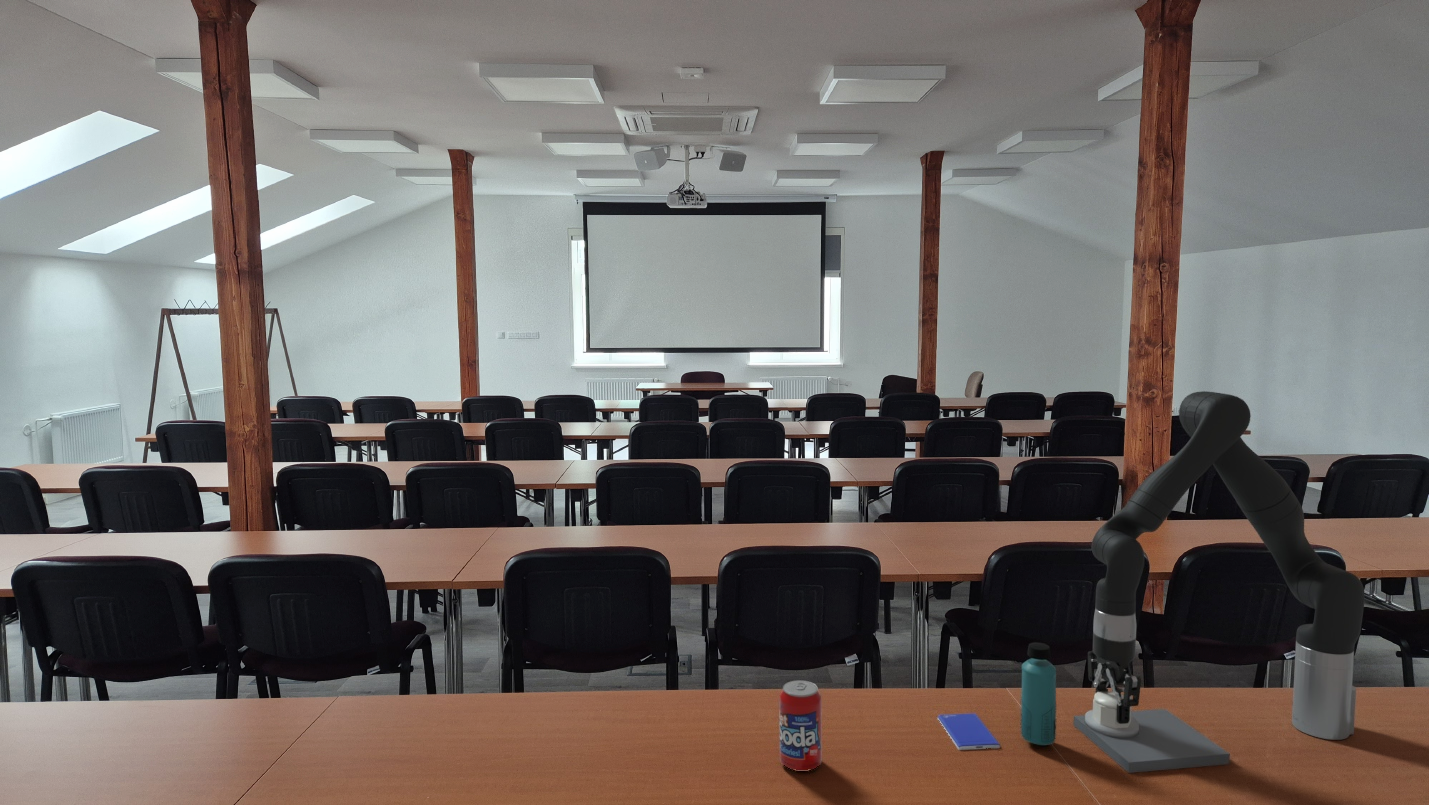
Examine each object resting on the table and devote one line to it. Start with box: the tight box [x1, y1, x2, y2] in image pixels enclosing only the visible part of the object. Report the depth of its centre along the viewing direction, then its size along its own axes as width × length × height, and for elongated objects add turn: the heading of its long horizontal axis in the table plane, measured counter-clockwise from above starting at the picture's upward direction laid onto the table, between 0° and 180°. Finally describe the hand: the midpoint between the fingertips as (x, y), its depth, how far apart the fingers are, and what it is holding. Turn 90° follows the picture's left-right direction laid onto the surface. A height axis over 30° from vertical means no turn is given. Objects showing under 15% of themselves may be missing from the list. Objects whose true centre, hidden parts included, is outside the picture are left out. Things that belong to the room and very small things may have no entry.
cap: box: [1092, 690, 1132, 728], centre depth 162 cm, size 6×6×4 cm
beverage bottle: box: [1019, 642, 1058, 746], centre depth 159 cm, size 6×7×20 cm
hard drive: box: [937, 712, 1001, 751], centre depth 165 cm, size 2×8×12 cm
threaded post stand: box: [1073, 708, 1231, 774], centre depth 159 cm, size 20×18×6 cm
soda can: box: [778, 679, 823, 770], centre depth 153 cm, size 8×8×15 cm
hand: (1111, 714), depth 162 cm, fingers closed on cap, 6 cm apart
